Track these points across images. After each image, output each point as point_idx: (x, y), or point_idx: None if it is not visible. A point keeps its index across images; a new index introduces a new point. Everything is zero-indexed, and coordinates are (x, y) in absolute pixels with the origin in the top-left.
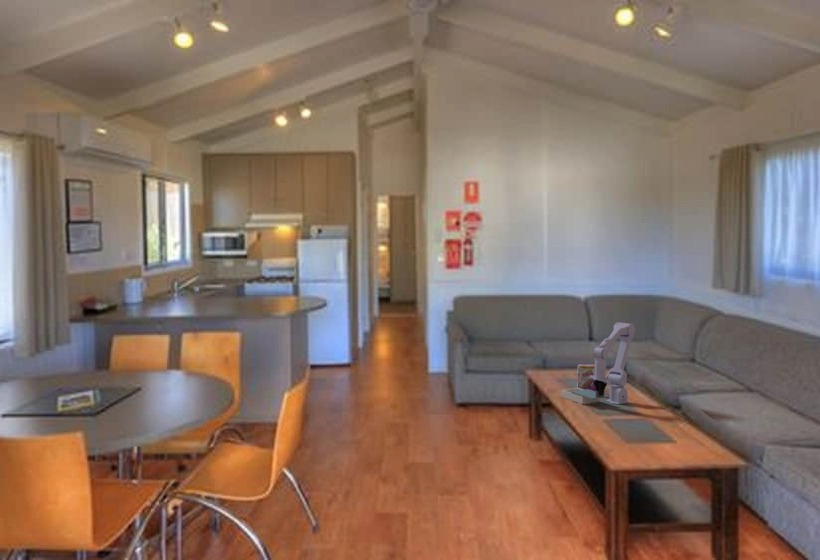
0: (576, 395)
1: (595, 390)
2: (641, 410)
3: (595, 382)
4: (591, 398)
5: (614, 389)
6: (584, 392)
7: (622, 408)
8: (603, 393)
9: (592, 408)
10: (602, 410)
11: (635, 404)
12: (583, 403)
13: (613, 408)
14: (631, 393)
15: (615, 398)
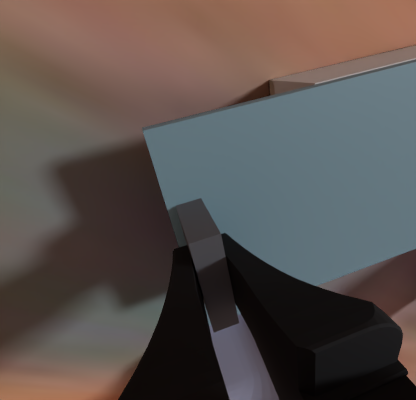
0: (400, 60)
1: None
2: (31, 395)
3: (306, 359)
4: (160, 124)
5: (273, 396)
6: (396, 165)
7: (96, 317)
8: (203, 299)
9: (130, 109)
10: (41, 167)
11: None
12: (275, 93)
13: (104, 268)
14: None
15: (236, 336)
